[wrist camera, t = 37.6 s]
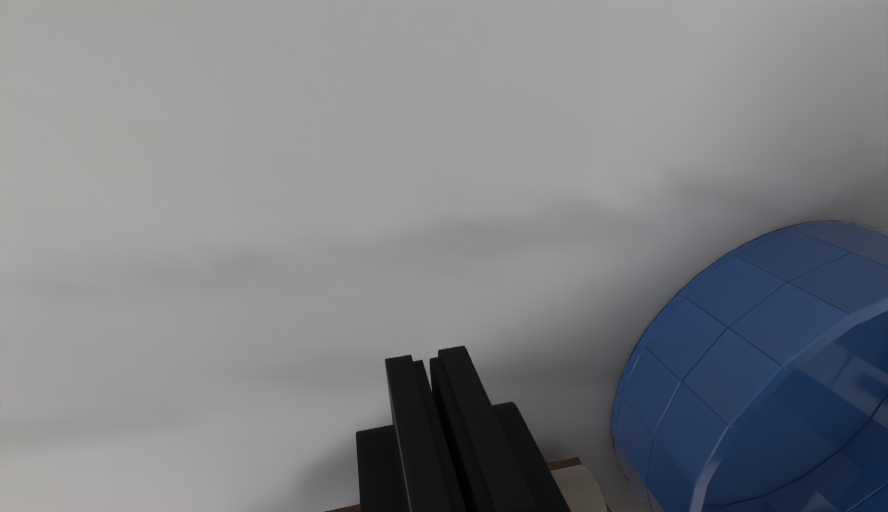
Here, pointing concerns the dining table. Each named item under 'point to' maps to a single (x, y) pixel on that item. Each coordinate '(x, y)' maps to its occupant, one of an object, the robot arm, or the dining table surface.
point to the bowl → (766, 381)
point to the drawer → (562, 487)
